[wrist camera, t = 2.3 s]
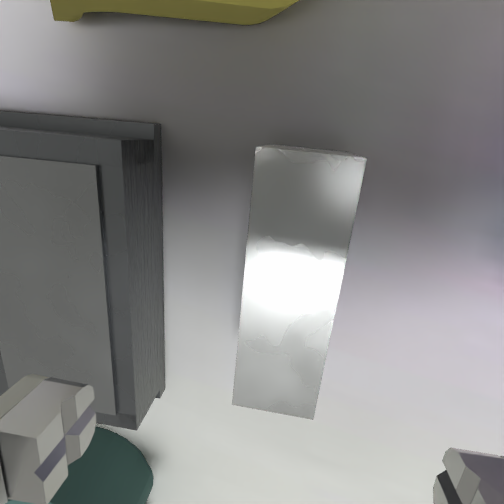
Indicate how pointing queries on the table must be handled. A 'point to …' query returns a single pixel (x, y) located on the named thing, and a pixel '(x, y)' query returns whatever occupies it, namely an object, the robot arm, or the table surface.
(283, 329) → the gray metallic block
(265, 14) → the plastic component
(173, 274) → the table surface
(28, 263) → the grey flat box
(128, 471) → the bracket
